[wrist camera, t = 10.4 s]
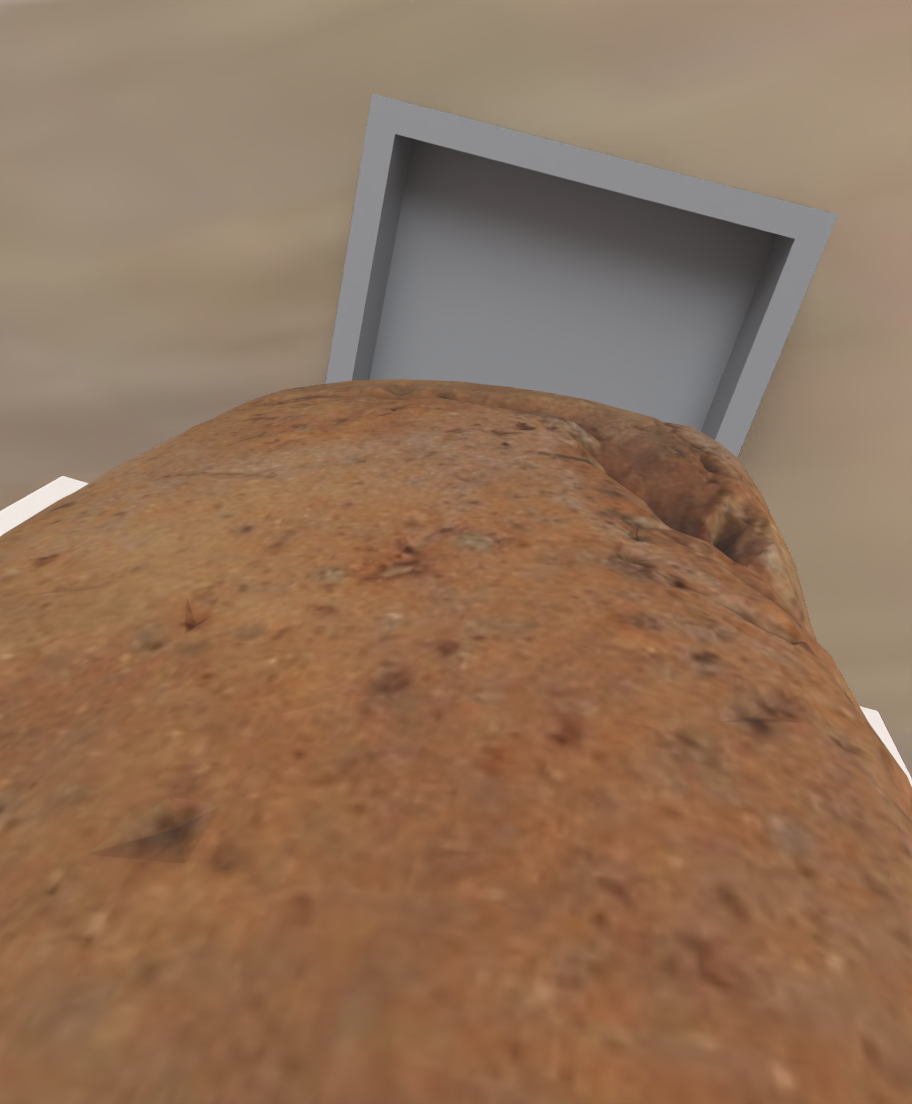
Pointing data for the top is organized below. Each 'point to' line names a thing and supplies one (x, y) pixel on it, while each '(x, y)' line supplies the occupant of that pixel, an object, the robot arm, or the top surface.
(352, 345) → the tray
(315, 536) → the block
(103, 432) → the top surface
